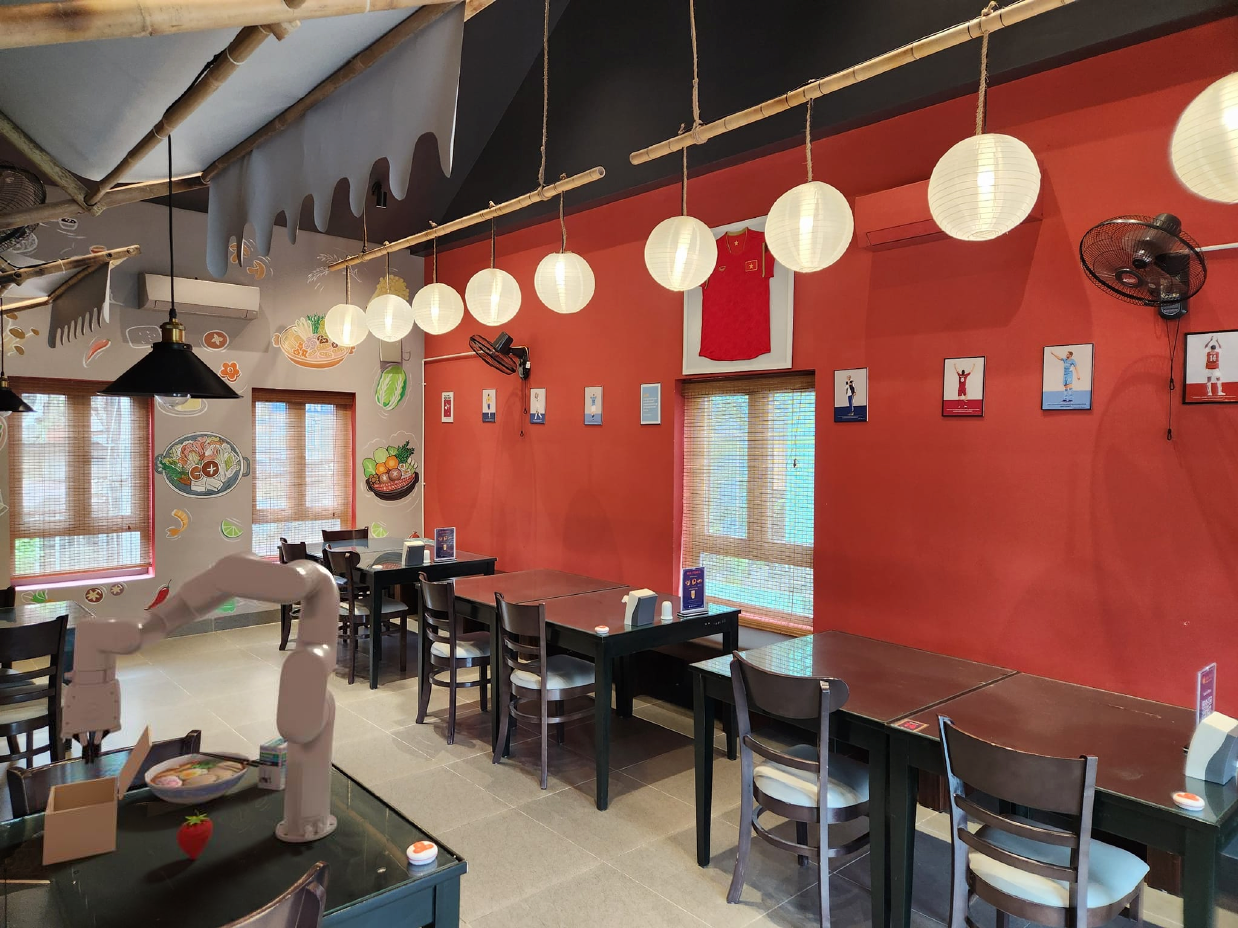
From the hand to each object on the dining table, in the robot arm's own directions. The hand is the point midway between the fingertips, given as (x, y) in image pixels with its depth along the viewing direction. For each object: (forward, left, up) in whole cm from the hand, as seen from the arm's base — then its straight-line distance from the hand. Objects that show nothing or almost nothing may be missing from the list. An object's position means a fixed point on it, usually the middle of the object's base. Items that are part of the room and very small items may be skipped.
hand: (89, 761), depth 160 cm
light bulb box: (+13, -41, -17) cm, 46 cm away
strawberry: (-20, -19, -17) cm, 32 cm away
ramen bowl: (+12, -22, -17) cm, 30 cm away
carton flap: (0, -8, -1) cm, 8 cm away
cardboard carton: (0, +1, -17) cm, 17 cm away
